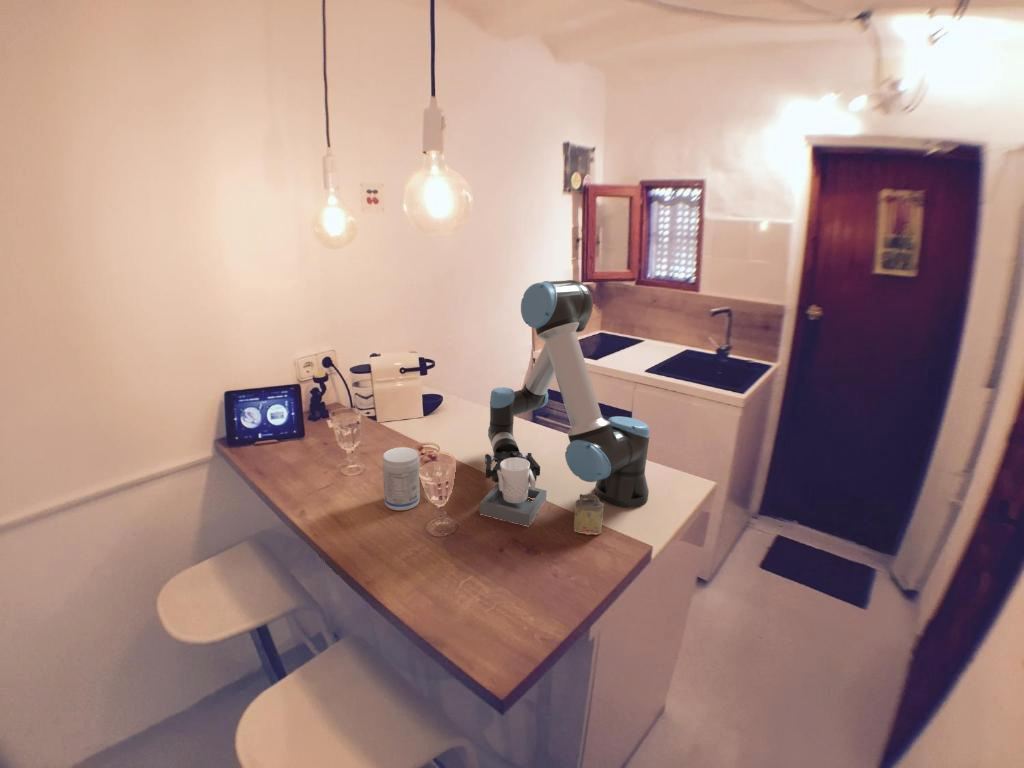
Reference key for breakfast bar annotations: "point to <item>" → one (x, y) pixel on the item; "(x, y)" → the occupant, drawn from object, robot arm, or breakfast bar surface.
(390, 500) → the supplement tub
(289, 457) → the breakfast bar surface
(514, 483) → the white cup
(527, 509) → the slate coaster tray
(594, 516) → the lighter
